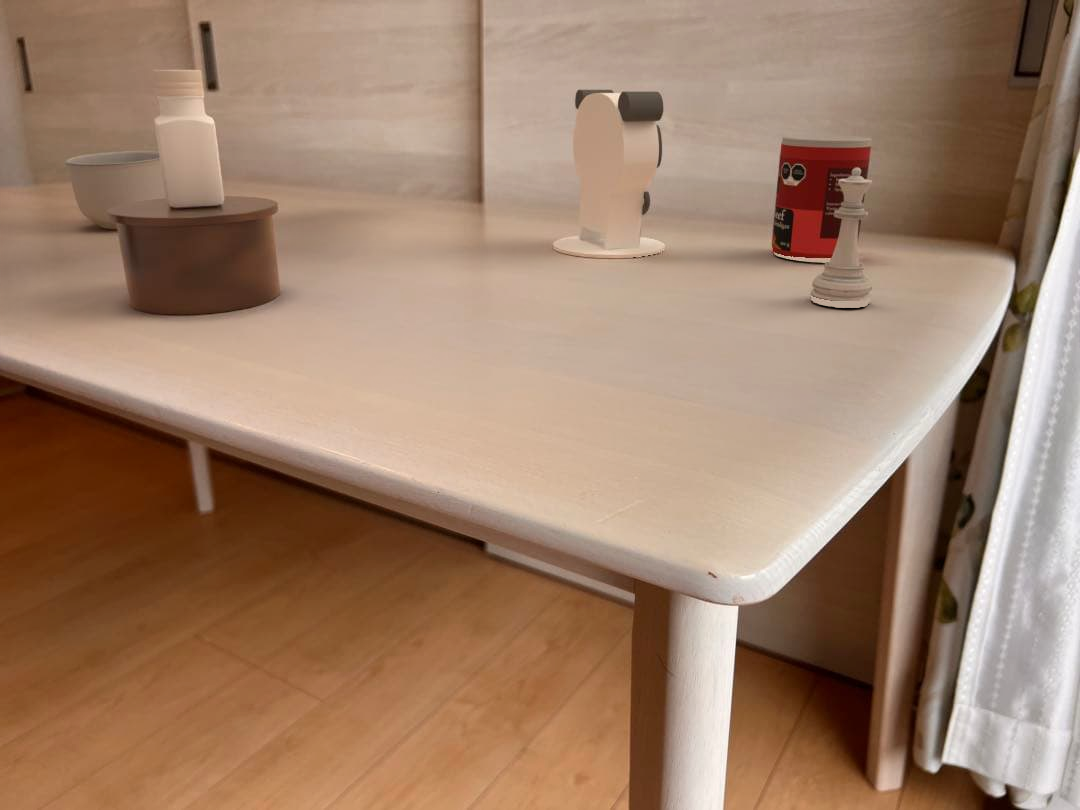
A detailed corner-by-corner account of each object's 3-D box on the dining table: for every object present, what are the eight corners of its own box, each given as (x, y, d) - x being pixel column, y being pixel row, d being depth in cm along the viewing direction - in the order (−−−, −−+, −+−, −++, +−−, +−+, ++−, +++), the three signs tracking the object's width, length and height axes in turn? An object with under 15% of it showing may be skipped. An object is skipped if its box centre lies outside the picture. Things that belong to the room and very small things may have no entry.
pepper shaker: (166, 203, 65) (146, 70, 62) (221, 200, 67) (204, 70, 64) (168, 210, 62) (146, 69, 59) (226, 207, 64) (208, 69, 60)
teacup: (196, 225, 100) (186, 154, 97) (99, 237, 92) (86, 159, 89) (145, 213, 109) (135, 147, 106) (53, 223, 101) (39, 152, 98)
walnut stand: (167, 326, 59) (151, 223, 56) (96, 297, 67) (79, 206, 64) (316, 296, 67) (308, 205, 65) (238, 274, 75) (228, 192, 72)
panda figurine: (690, 254, 84) (700, 90, 78) (585, 263, 80) (588, 91, 74) (631, 235, 94) (637, 89, 89) (535, 242, 90) (535, 89, 85)
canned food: (776, 246, 88) (787, 134, 84) (858, 252, 85) (874, 136, 81) (764, 260, 81) (776, 138, 77) (853, 266, 78) (870, 141, 74)
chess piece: (799, 303, 65) (815, 167, 62) (824, 293, 68) (840, 163, 65) (856, 312, 63) (875, 171, 59) (878, 302, 66) (898, 167, 62)
